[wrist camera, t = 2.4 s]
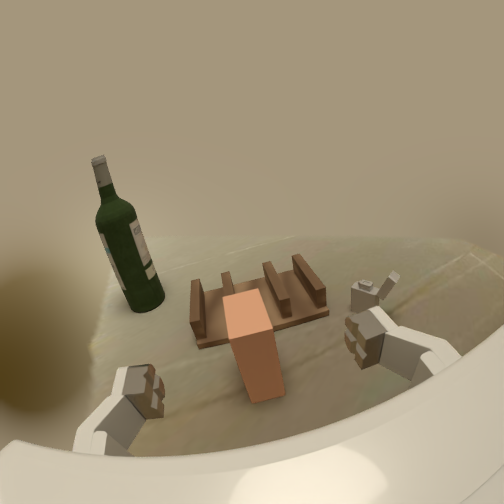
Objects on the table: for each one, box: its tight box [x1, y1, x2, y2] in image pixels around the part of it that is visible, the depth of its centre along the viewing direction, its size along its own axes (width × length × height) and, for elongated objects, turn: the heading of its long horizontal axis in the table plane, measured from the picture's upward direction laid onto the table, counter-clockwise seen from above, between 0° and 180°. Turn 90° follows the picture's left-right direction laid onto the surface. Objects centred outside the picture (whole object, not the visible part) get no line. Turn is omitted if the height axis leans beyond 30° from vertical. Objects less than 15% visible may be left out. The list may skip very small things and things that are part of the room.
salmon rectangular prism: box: [223, 288, 285, 403], centre depth 29 cm, size 4×7×11 cm, turn 10°
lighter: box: [351, 271, 401, 313], centre depth 35 cm, size 7×2×8 cm, turn 42°
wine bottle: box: [91, 155, 165, 312], centre depth 46 cm, size 8×8×30 cm
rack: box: [190, 254, 329, 349], centre depth 44 cm, size 20×14×4 cm
